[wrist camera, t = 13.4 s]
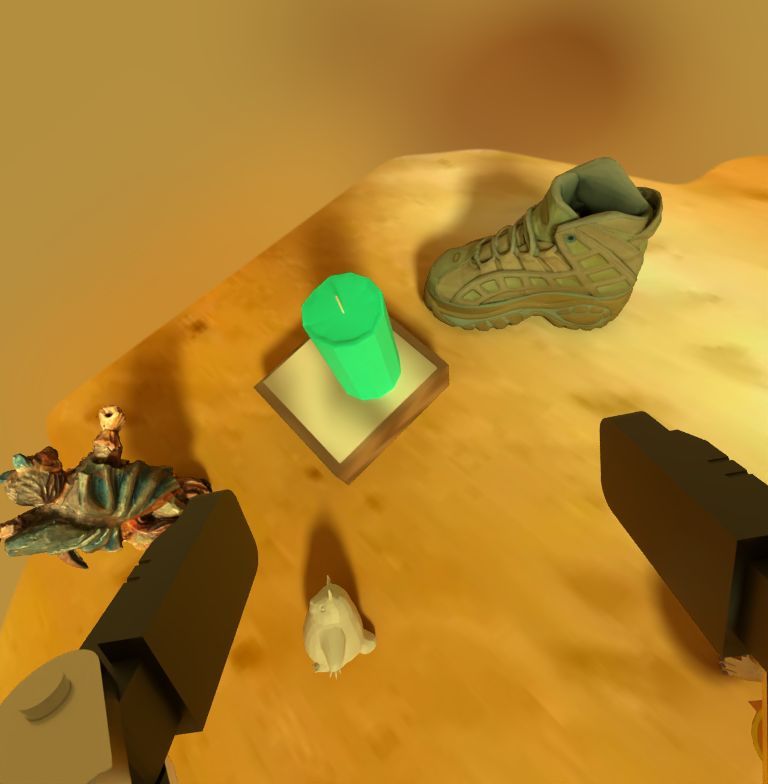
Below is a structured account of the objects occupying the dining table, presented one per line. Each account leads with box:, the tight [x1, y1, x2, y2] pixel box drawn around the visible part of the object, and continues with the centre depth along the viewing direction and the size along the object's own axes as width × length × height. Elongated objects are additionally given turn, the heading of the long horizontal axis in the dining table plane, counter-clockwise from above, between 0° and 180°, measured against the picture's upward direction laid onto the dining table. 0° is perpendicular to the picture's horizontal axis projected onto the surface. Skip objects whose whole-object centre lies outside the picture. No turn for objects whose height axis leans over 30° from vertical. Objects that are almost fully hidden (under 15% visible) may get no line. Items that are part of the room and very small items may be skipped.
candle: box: [302, 272, 401, 400], centre depth 34 cm, size 6×6×12 cm
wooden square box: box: [254, 315, 449, 485], centre depth 42 cm, size 14×12×5 cm
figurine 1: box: [0, 405, 212, 569], centre depth 36 cm, size 11×9×18 cm
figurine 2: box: [303, 575, 377, 680], centre depth 35 cm, size 8×6×8 cm
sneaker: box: [424, 157, 663, 331], centre depth 39 cm, size 11×19×15 cm, turn 69°
